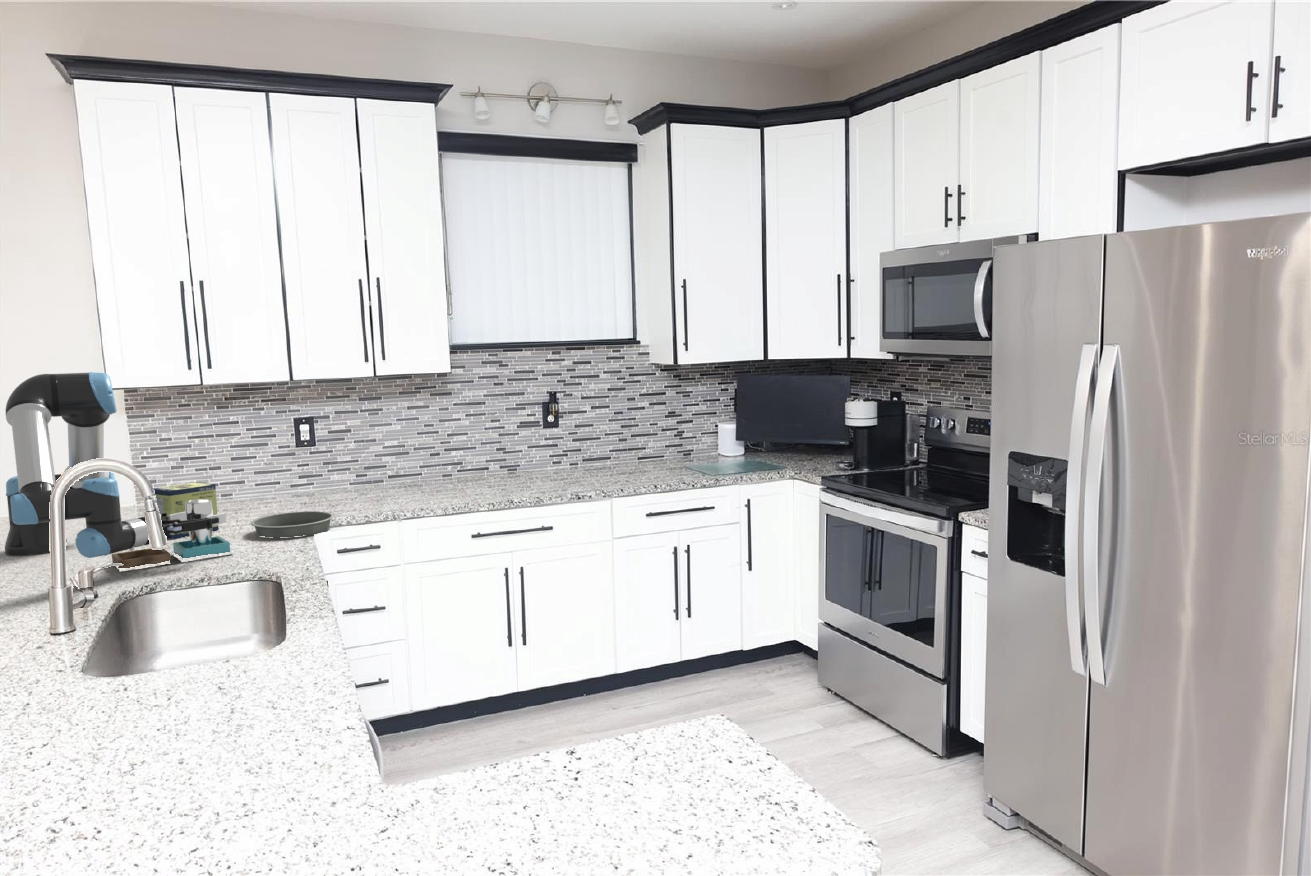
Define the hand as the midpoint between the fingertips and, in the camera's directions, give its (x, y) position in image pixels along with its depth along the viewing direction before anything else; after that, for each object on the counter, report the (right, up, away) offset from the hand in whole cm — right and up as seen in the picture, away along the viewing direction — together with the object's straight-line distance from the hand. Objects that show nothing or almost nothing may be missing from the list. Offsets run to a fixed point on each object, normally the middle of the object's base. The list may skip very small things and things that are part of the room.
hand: (206, 516), depth 244 cm
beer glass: (-1, -10, -1) cm, 11 cm away
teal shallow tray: (-1, -11, -1) cm, 11 cm away
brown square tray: (-12, -12, -11) cm, 20 cm away
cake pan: (+13, -8, +29) cm, 33 cm away
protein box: (-22, -8, +30) cm, 38 cm away
